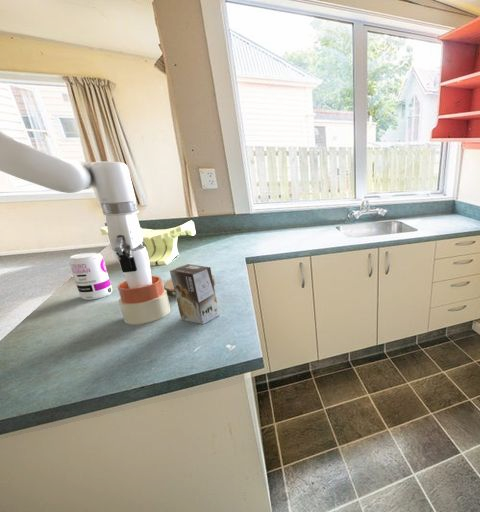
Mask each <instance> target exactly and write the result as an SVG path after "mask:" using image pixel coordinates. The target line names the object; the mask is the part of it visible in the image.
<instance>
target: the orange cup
mask: <svg viewBox="0 0 480 512" xmlns="http://www.w3.org/2000/svg"><path fill="white" fill-rule="evenodd" d="M151 277H152V284H151V285H148V286H144V287H140V288H132V289H129V286H128V284H127V281H126V280H124V281H122V282H120V283H119V284H118V285H117V290H118V294H119V299H120V298H121V301H122V302H123V303H127V304H134V303H141V302H146V301H149V300H153V299H155V298H158V297H159V296H161V295H163V293H164V283H163V280H162V278H161V277H160V276H158V275H151Z"/></svg>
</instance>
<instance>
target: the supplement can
mask: <svg viewBox="0 0 480 512" xmlns="http://www.w3.org/2000/svg"><path fill="white" fill-rule="evenodd" d="M68 264H69V266H70V271H71V273H72V276H73V279H74V283H75V285H76V287H77V290H78V294H79V296H80V298H81V299H83V300H86V301H91V300H92V301H93V300H98V299H102V298H105V297H107V296H109V295H111V294H112V292H113V288H112V284H111V280H110V277H109V273H108V270H107V267H106V263H105V260H104V256H102V254H100V252H97V251H89V252H81V253H77V254H74V255H73V254H72V255H71V256H70V257H69V261H68Z"/></svg>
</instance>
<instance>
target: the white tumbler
mask: <svg viewBox="0 0 480 512" xmlns="http://www.w3.org/2000/svg"><path fill="white" fill-rule="evenodd" d="M147 251H148V249H147V247H146V245H144V246H137V247H136V248H135V249H133V250H132V257H134V260H135V263H136V267H137V270H136V271H133V272H122V274H123V277H124V279H125V281H127V284H128V286H129V289H132V288H140V287H144V286H148V285H151V284H152V277H151V276H152V271H151V265H150V262H149V257H148V253H147ZM126 252H127V253H128V251H126ZM116 256H117V257H118V255H117V254H116ZM117 260H118V263H119V266H120V268H121V265H120V262H119V259H118V258H117Z"/></svg>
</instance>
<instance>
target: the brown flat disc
mask: <svg viewBox="0 0 480 512" xmlns="http://www.w3.org/2000/svg"><path fill="white" fill-rule="evenodd" d="M212 279H213V284H214V287H215V286H216V281H215V277H214V275H213V274H212ZM163 289H165V290H166V291H167V295H168V297H171V298H176V295H175V291H174V287H173V282H172V278H170V279H168V280H167V281H166V282H164V283H163Z"/></svg>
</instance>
